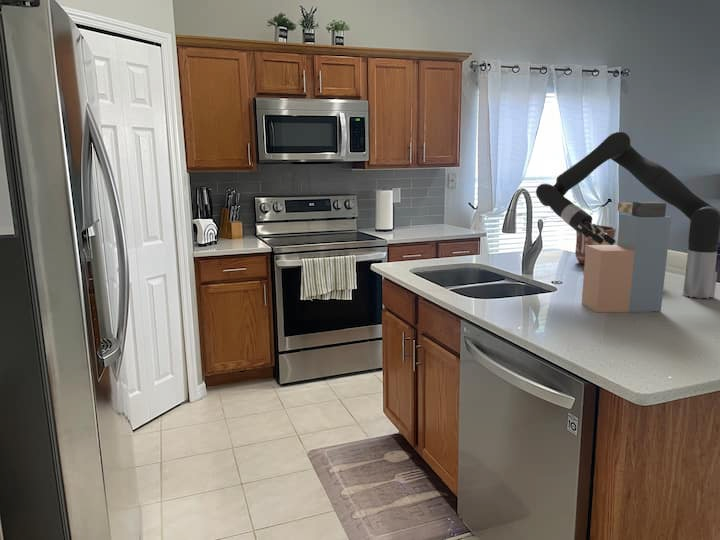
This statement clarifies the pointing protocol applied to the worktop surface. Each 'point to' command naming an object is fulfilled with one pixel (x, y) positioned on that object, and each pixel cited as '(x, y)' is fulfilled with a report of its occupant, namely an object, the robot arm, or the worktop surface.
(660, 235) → the step stand
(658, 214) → the mallet
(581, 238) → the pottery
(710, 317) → the worktop surface
